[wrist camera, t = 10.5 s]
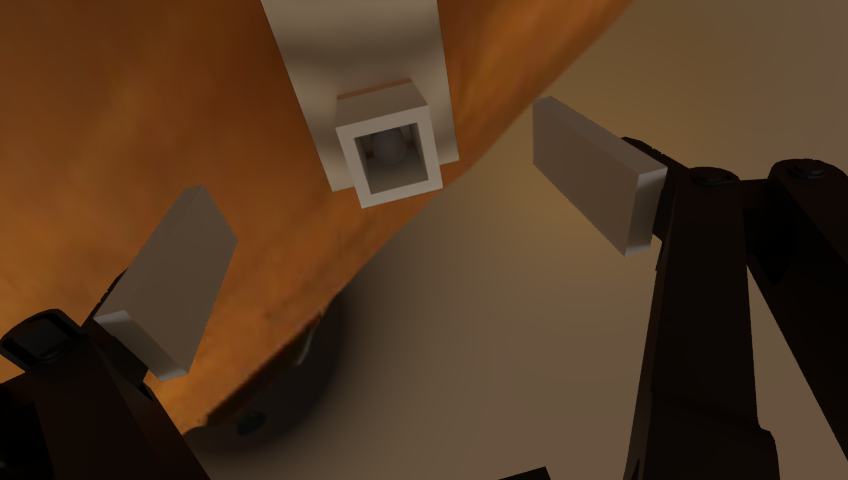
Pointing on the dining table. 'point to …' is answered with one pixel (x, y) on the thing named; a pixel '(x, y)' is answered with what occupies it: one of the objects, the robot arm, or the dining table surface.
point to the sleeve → (377, 114)
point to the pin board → (363, 69)
